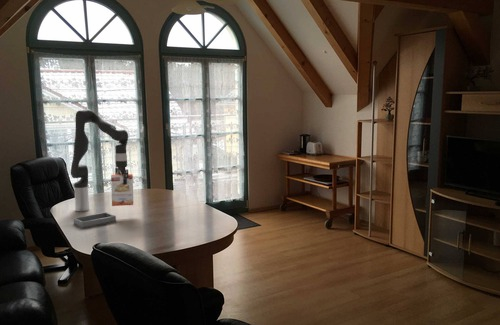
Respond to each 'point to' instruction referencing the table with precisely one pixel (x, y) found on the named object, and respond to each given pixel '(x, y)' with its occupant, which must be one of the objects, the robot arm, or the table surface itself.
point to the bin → (94, 220)
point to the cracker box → (121, 190)
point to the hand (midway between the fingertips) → (122, 183)
